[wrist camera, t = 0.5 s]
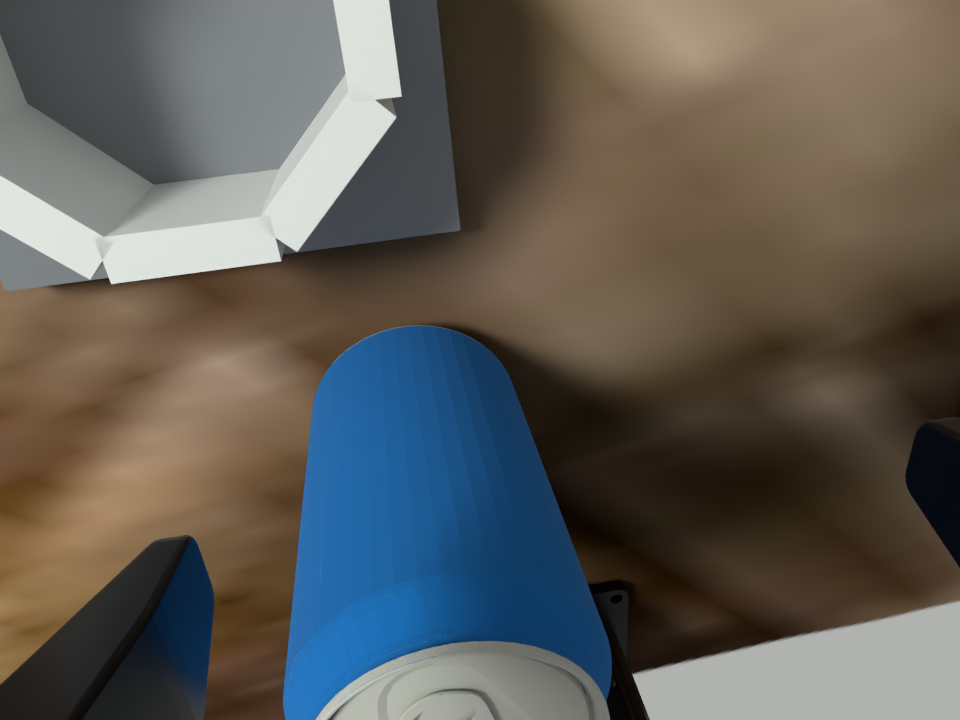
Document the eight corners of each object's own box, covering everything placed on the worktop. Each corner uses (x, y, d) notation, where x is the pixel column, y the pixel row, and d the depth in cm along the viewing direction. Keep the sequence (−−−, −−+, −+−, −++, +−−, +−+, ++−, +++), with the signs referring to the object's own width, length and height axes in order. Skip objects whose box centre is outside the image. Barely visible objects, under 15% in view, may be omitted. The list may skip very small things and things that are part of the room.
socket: (456, 219, 20) (483, 287, 16) (21, 276, 19) (-76, 366, 15) (395, -349, 14) (412, -486, 10) (-239, -312, 13) (-527, -447, 9)
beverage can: (359, 505, 25) (360, 891, 14) (278, 355, 22) (205, 714, 11) (533, 445, 25) (660, 790, 14) (478, 285, 21) (592, 582, 11)
